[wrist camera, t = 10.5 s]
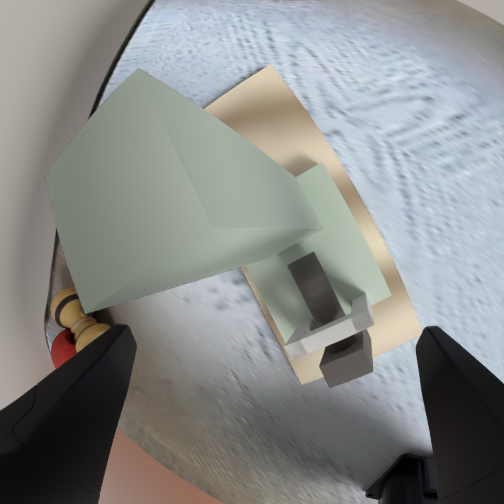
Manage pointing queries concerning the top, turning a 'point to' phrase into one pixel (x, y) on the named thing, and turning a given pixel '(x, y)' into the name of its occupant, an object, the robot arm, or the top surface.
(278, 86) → the board
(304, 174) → the tall sage green column
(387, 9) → the top surface
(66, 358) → the kendama
